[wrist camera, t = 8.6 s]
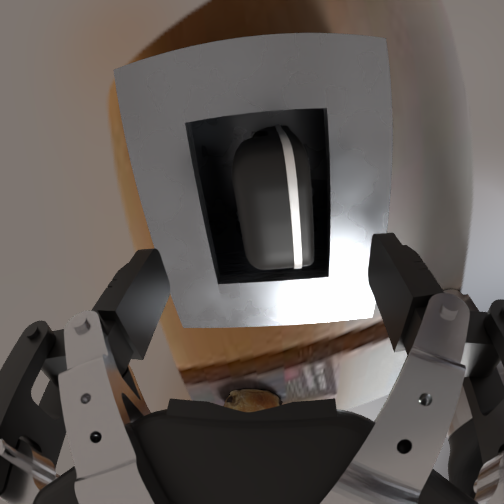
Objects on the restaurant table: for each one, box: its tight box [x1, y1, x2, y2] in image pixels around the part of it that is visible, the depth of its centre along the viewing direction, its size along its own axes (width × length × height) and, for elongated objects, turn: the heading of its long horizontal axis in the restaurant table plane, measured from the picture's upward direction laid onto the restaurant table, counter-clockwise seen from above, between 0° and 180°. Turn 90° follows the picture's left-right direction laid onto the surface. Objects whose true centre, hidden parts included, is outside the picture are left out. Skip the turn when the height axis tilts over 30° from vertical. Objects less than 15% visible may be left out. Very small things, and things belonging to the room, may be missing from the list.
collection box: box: [114, 33, 393, 328], centre depth 19 cm, size 14×18×10 cm
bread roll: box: [224, 389, 282, 412], centre depth 42 cm, size 10×10×8 cm
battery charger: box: [232, 125, 314, 270], centre depth 18 cm, size 7×4×11 cm, turn 8°
